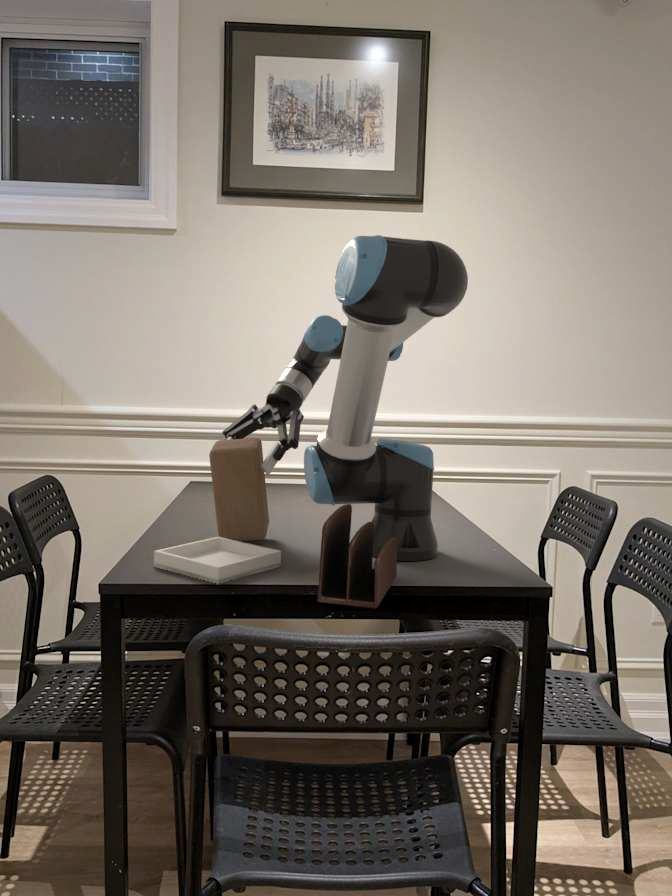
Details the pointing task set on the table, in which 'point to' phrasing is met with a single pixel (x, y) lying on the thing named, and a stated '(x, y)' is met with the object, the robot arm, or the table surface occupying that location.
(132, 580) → the table surface
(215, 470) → the block
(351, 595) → the letter holder
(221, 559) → the tray
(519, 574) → the table surface
